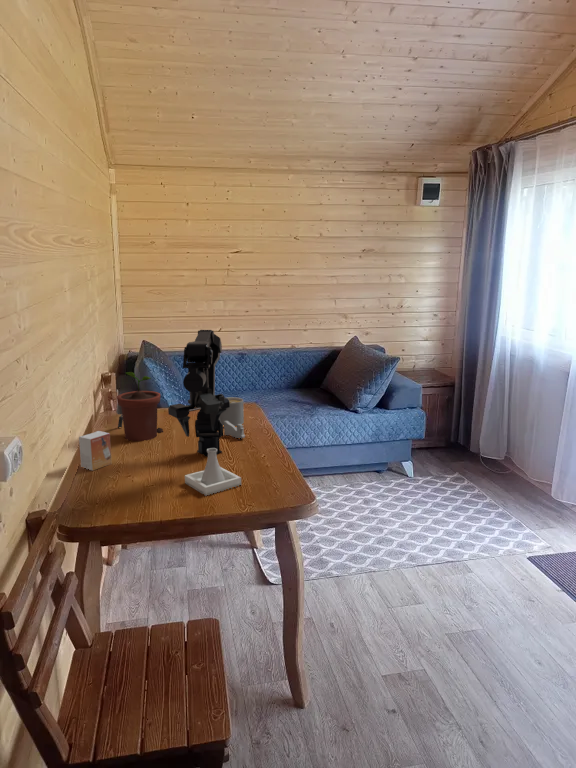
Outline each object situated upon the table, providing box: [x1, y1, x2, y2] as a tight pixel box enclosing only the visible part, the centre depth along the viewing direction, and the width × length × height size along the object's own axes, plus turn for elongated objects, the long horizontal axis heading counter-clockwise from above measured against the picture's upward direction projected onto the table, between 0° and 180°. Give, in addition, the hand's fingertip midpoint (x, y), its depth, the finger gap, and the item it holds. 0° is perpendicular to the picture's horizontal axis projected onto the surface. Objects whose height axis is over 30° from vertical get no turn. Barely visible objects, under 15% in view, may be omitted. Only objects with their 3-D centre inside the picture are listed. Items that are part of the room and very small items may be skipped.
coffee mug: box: [219, 396, 245, 426], centre depth 227 cm, size 13×10×10 cm
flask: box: [201, 448, 225, 486], centre depth 164 cm, size 7×7×10 cm
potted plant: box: [115, 371, 164, 442], centre depth 211 cm, size 18×22×25 cm
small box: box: [78, 430, 113, 471], centre depth 180 cm, size 8×6×10 cm
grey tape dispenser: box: [223, 421, 246, 440], centre depth 210 cm, size 6×1×10 cm
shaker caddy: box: [184, 466, 242, 497], centre depth 165 cm, size 12×12×2 cm
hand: (200, 433), depth 173 cm, fingers open, 9 cm apart
